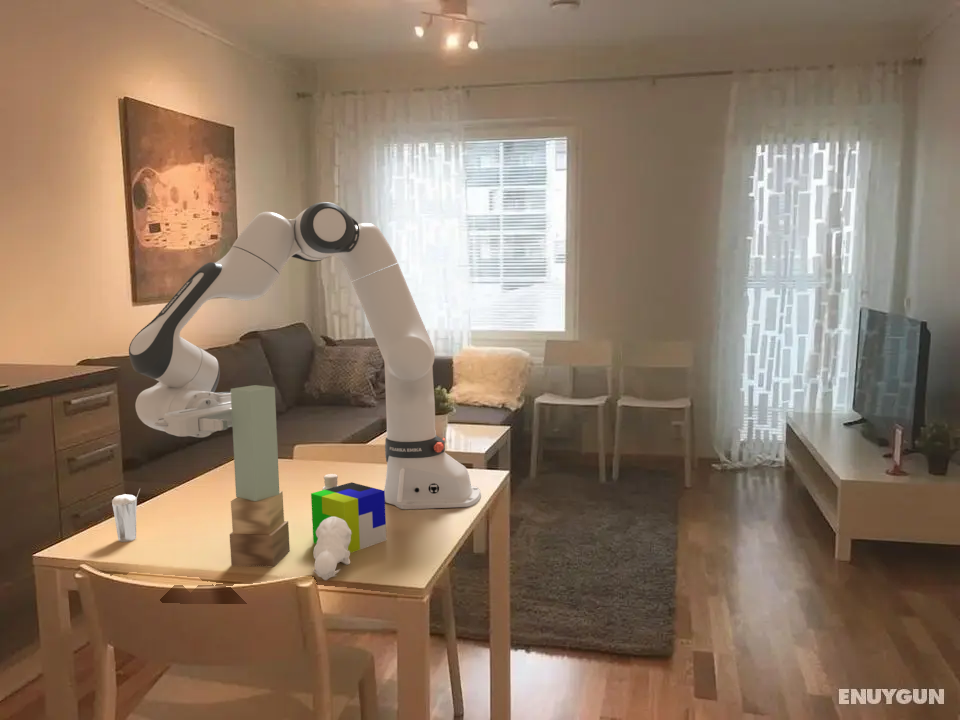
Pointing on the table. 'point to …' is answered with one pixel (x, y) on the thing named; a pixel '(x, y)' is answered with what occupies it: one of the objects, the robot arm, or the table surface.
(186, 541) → the table surface
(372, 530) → the puzzle toy
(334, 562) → the white animal figurine
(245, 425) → the pillar
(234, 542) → the tower bottom
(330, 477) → the pepper shaker
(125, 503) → the milkshake
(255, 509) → the tower top
